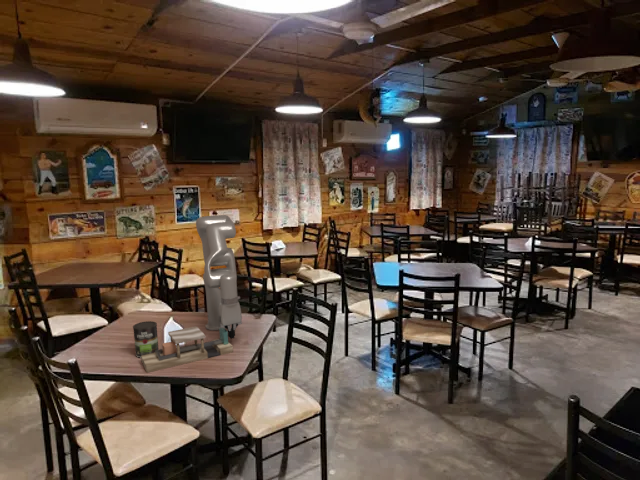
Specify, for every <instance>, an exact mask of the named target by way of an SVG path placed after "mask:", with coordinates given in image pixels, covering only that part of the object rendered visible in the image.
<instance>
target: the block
mask: <svg viewBox="0 0 640 480" xmlns="http://www.w3.org/2000/svg"><path fill="white" fill-rule="evenodd" d="M176 348H177V345H176V344H175V343H174V341H172V342H171V341H168V342H163V343H161V349H162V350H163V355H168V354H172V353H177V349H176Z"/></svg>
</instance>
